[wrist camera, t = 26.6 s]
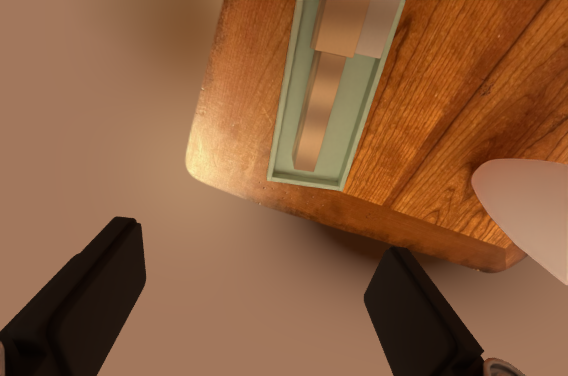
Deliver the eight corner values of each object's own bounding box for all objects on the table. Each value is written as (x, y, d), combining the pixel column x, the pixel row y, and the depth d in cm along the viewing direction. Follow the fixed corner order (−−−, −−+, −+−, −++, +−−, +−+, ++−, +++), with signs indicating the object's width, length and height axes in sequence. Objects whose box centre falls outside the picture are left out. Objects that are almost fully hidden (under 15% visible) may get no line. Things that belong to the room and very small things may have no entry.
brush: (333, 161, 32) (340, 176, 29) (286, 153, 31) (288, 168, 28) (389, -12, 23) (409, -19, 20) (325, -29, 22) (334, -39, 19)
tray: (266, 174, 33) (266, 180, 31) (300, -26, 24) (302, -32, 22) (338, 184, 34) (342, 191, 33) (397, 0, 25) (407, -5, 23)
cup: (430, 149, 33) (659, 273, 14) (512, 116, 31) (893, 205, 12) (439, 209, 37) (619, 365, 18) (510, 183, 36) (786, 322, 17)
